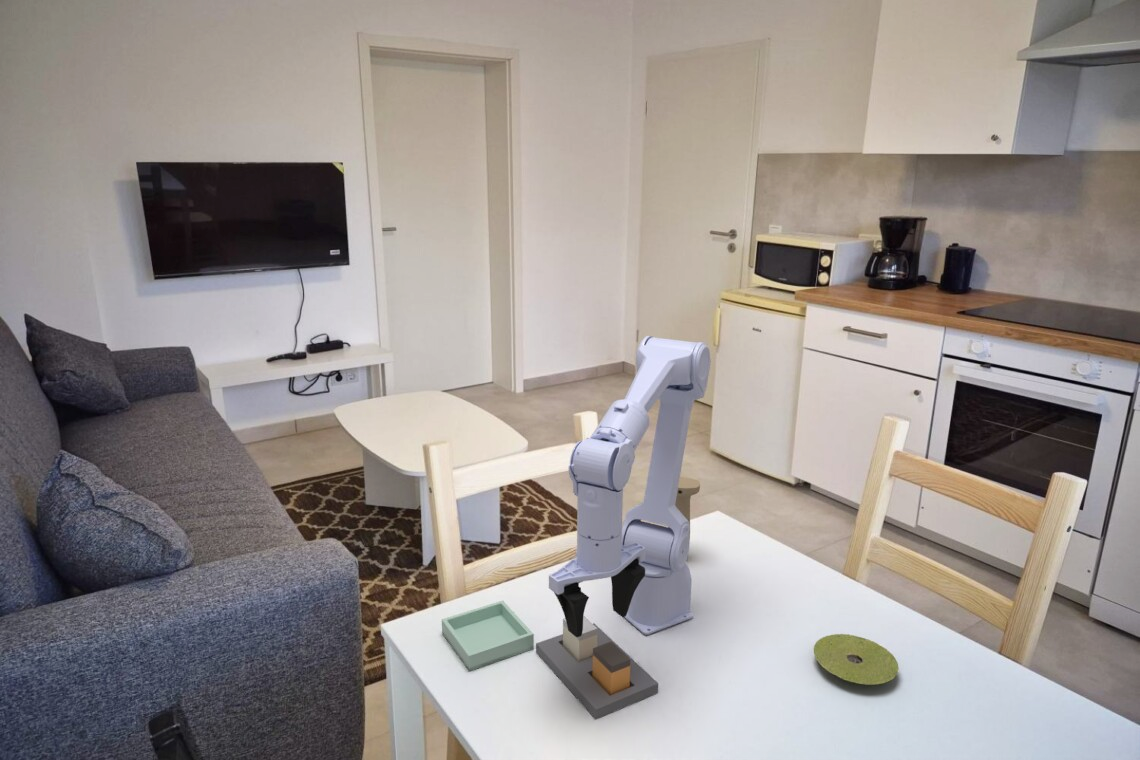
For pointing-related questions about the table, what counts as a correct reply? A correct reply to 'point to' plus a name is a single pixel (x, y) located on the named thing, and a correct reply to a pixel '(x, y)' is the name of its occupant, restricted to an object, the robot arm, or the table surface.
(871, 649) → the green sanding disc
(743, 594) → the table surface
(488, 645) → the parts tray
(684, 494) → the handle
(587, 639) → the block
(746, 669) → the table surface
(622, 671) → the block
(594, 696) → the block
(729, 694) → the table surface
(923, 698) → the table surface
